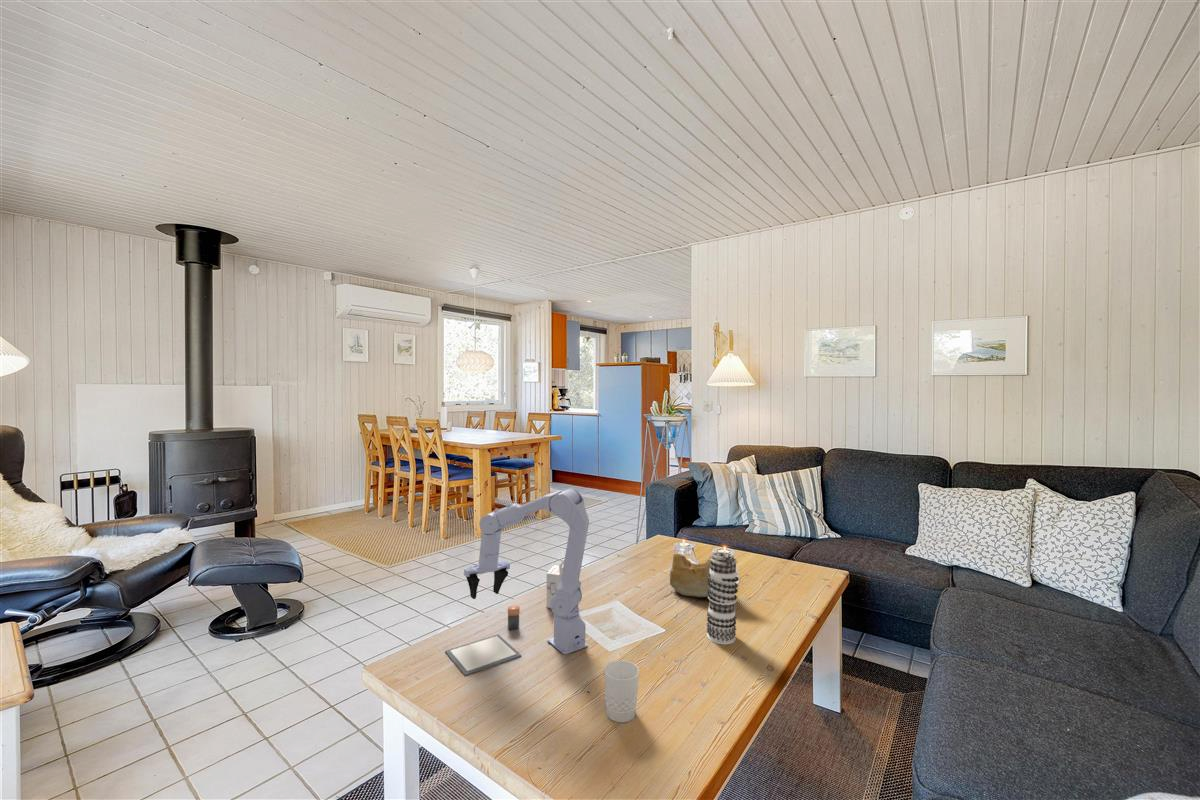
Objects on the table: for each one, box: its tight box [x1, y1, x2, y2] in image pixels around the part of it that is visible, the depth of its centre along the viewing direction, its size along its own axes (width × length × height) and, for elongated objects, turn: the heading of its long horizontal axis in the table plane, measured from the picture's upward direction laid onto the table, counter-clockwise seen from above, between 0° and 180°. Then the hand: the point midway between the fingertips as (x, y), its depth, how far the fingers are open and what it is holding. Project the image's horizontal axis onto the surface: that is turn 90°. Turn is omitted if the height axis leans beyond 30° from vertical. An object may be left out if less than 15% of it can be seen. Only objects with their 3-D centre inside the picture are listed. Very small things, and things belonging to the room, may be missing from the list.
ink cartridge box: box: [546, 559, 564, 609], centre depth 169 cm, size 9×5×15 cm, turn 168°
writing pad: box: [444, 634, 522, 677], centre depth 135 cm, size 14×16×1 cm
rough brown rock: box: [669, 553, 710, 598], centre depth 180 cm, size 23×17×15 cm
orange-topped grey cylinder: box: [507, 605, 521, 631], centre depth 151 cm, size 4×4×6 cm
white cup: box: [603, 659, 640, 723], centre depth 112 cm, size 8×8×10 cm
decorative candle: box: [706, 551, 739, 645], centre depth 148 cm, size 9×9×25 cm
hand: (484, 595), depth 151 cm, fingers open, 7 cm apart
